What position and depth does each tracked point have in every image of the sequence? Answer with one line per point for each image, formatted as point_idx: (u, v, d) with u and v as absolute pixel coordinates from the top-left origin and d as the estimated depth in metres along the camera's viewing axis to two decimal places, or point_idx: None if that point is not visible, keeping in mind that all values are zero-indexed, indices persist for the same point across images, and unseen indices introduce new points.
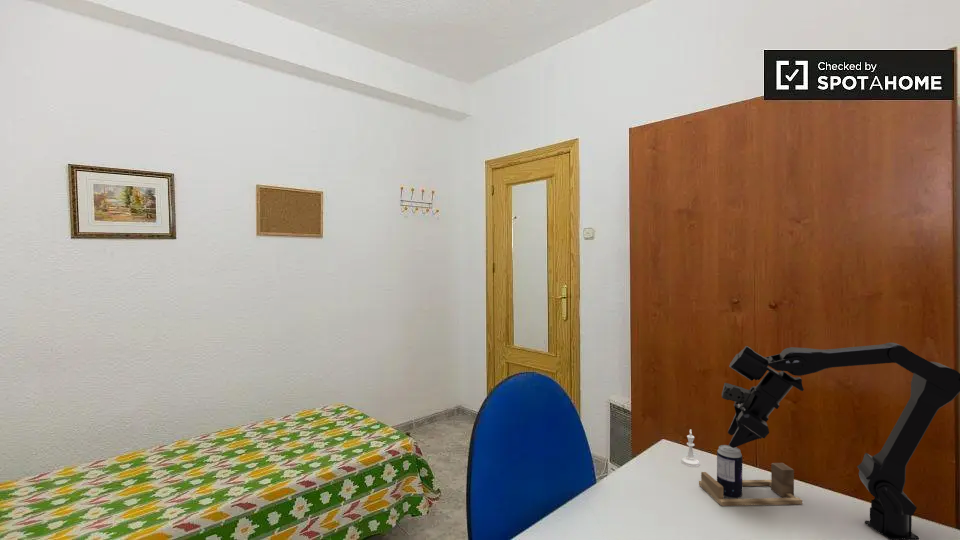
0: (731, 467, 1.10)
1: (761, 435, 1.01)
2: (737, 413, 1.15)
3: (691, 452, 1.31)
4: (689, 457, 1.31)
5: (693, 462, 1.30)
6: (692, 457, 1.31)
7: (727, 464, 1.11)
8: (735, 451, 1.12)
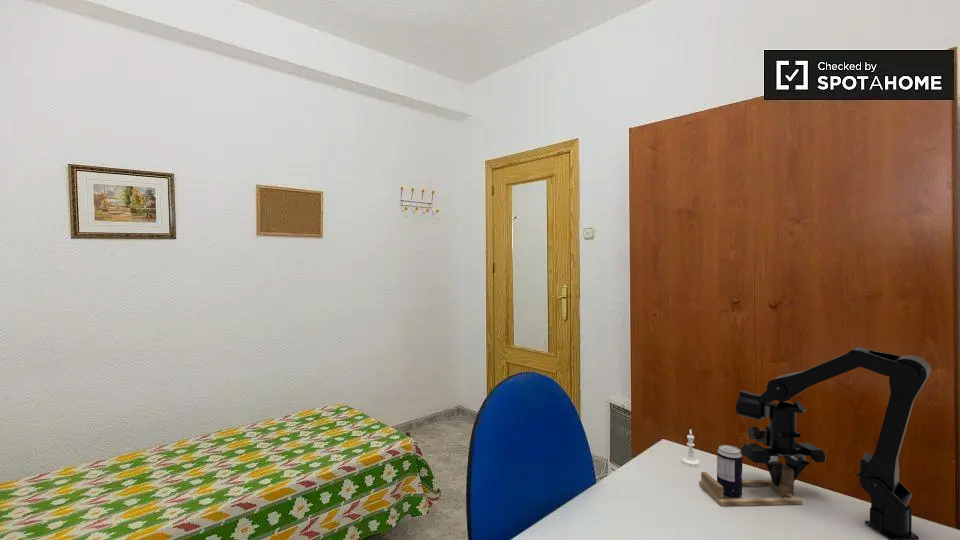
0: (731, 467, 1.10)
1: (752, 460, 1.11)
2: (786, 461, 1.15)
3: (691, 452, 1.31)
4: (689, 457, 1.31)
5: (693, 462, 1.30)
6: (692, 457, 1.31)
7: (727, 464, 1.11)
8: (735, 451, 1.12)
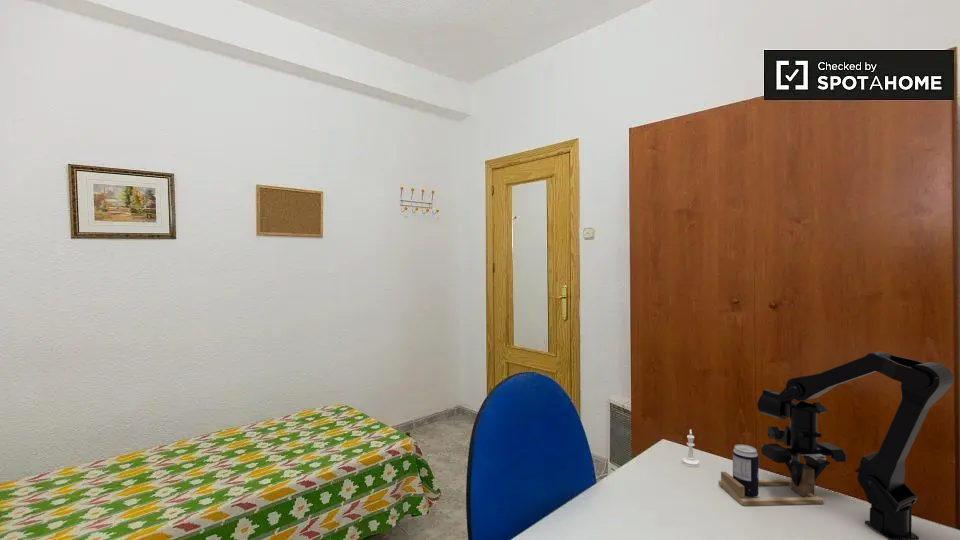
0: (748, 466, 1.11)
1: (774, 460, 1.11)
2: (806, 460, 1.15)
3: (691, 452, 1.31)
4: (689, 457, 1.31)
5: (693, 462, 1.30)
6: (692, 457, 1.31)
7: (743, 463, 1.11)
8: (751, 450, 1.12)
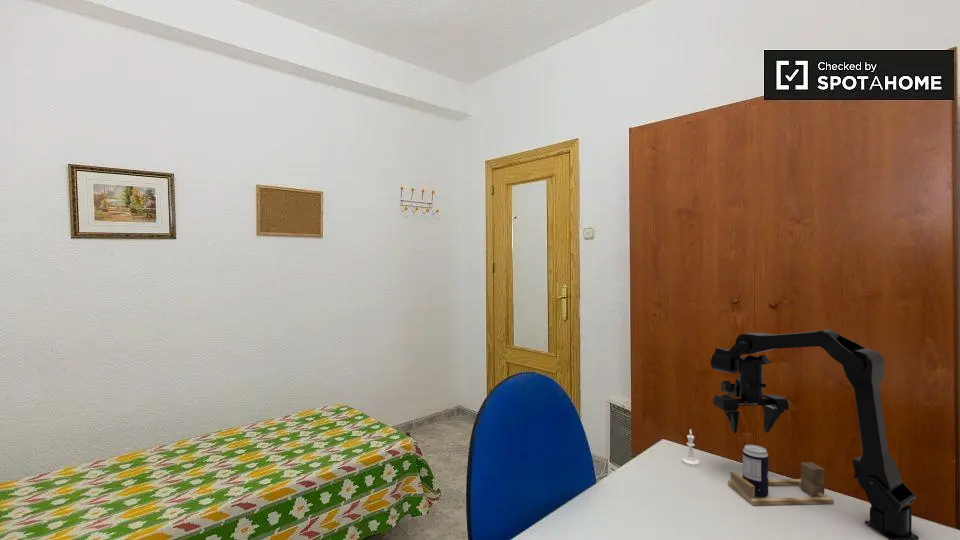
0: (758, 467, 1.11)
1: (722, 408, 1.21)
2: (764, 410, 1.25)
3: (691, 452, 1.31)
4: (689, 457, 1.31)
5: (693, 462, 1.30)
6: (692, 457, 1.31)
7: (753, 463, 1.11)
8: (761, 451, 1.12)
